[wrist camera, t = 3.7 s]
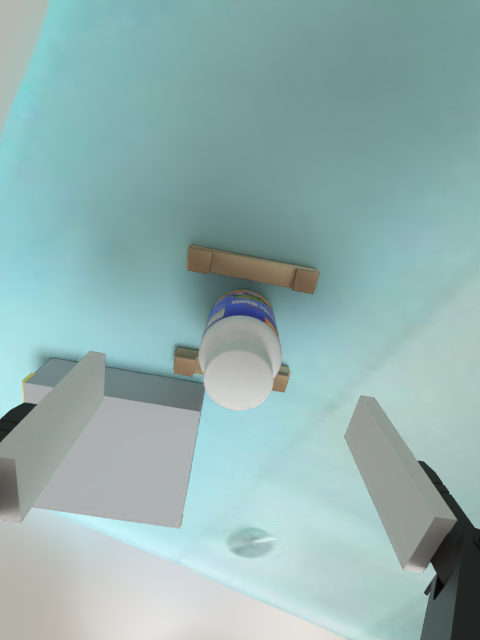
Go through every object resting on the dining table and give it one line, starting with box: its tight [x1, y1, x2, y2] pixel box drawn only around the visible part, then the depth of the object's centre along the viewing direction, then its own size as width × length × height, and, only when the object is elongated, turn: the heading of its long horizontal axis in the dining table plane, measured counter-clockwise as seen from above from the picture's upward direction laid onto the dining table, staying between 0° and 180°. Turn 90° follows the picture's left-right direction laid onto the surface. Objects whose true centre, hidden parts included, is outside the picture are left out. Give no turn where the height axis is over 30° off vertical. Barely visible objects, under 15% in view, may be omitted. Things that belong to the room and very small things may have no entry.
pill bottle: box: [199, 290, 282, 410], centre depth 22 cm, size 5×5×10 cm
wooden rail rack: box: [173, 245, 320, 392], centre depth 25 cm, size 11×10×2 cm
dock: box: [22, 358, 205, 529], centre depth 29 cm, size 14×14×4 cm
